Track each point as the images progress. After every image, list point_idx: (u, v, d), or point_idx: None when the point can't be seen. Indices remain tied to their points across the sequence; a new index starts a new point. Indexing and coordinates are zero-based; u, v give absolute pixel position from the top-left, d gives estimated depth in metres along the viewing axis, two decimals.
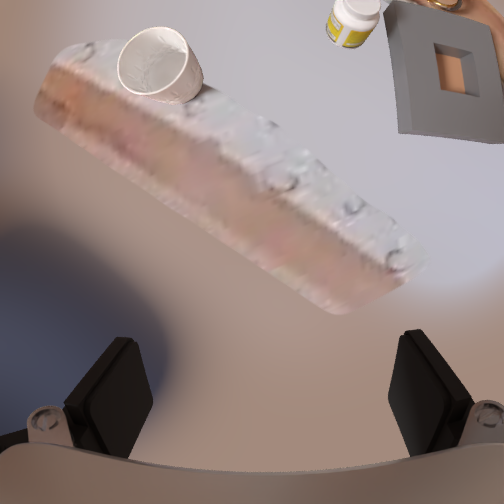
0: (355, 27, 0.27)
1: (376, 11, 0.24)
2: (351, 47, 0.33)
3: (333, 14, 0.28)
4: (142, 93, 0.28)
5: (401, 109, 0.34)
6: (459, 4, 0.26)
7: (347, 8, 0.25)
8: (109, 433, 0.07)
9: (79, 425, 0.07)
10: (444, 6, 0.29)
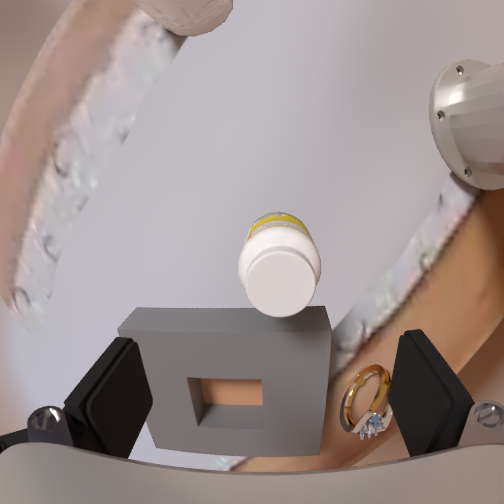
0: (239, 262, 0.20)
1: (257, 307, 0.18)
2: None
3: (272, 225, 0.21)
4: None
5: (159, 315, 0.28)
6: (344, 424, 0.27)
7: (260, 254, 0.18)
8: (109, 433, 0.07)
9: (79, 425, 0.07)
10: (348, 397, 0.30)
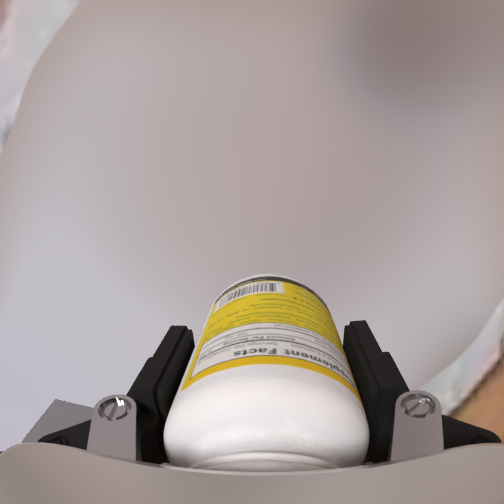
0: (164, 440, 0.07)
1: None
2: None
3: (248, 356, 0.07)
4: None
5: (80, 422, 0.15)
6: None
7: None
8: None
9: (147, 412, 0.08)
10: None
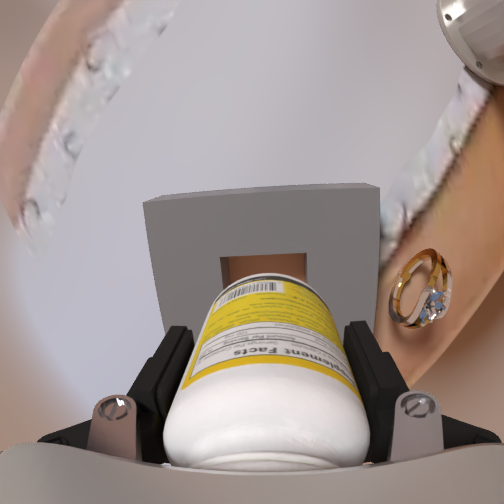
0: (163, 440, 0.07)
1: None
2: None
3: (248, 356, 0.07)
4: None
5: (189, 194, 0.26)
6: (397, 318, 0.25)
7: None
8: None
9: (147, 412, 0.08)
10: (395, 295, 0.28)
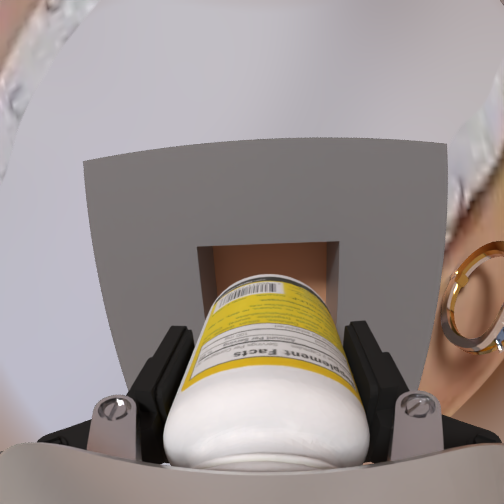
0: (163, 441, 0.07)
1: None
2: None
3: (248, 357, 0.07)
4: None
5: None
6: (459, 341, 0.15)
7: None
8: None
9: (147, 412, 0.08)
10: (449, 307, 0.18)
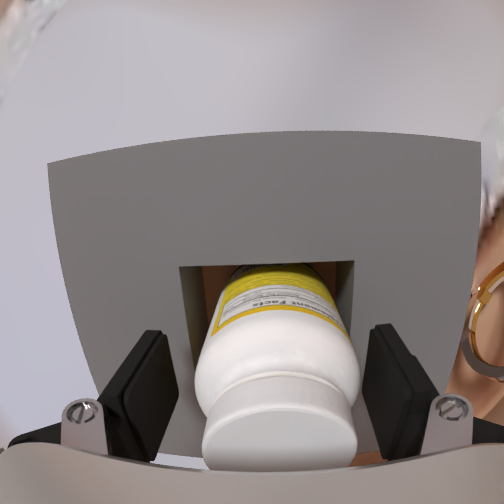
0: (195, 380, 0.09)
1: None
2: None
3: (264, 306, 0.10)
4: None
5: None
6: (483, 369, 0.12)
7: (234, 397, 0.07)
8: (143, 424, 0.08)
9: (115, 417, 0.07)
10: (470, 328, 0.15)
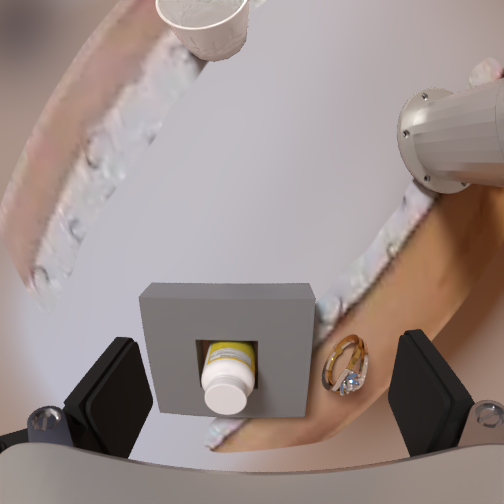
0: (202, 378, 0.30)
1: (212, 409, 0.28)
2: None
3: (223, 356, 0.30)
4: None
5: (173, 287, 0.35)
6: (326, 385, 0.34)
7: (213, 382, 0.28)
8: (109, 433, 0.07)
9: (79, 425, 0.07)
10: (329, 365, 0.37)
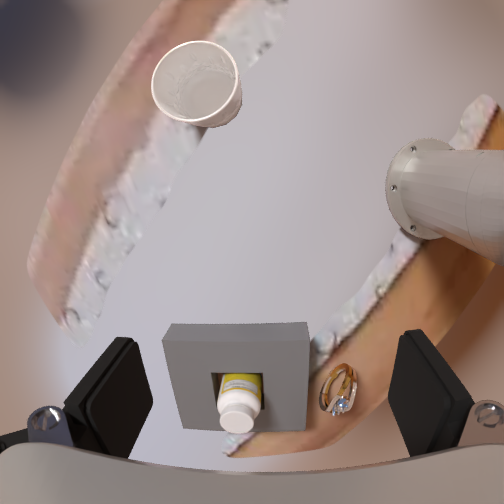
0: (217, 404, 0.36)
1: (226, 429, 0.34)
2: None
3: (234, 387, 0.36)
4: (153, 76, 0.25)
5: (190, 329, 0.40)
6: (321, 406, 0.39)
7: (226, 409, 0.34)
8: (109, 433, 0.07)
9: (79, 425, 0.07)
10: (326, 387, 0.42)
